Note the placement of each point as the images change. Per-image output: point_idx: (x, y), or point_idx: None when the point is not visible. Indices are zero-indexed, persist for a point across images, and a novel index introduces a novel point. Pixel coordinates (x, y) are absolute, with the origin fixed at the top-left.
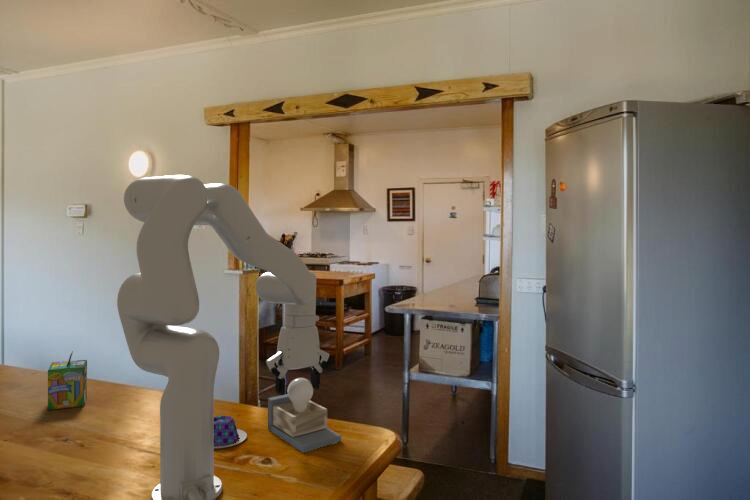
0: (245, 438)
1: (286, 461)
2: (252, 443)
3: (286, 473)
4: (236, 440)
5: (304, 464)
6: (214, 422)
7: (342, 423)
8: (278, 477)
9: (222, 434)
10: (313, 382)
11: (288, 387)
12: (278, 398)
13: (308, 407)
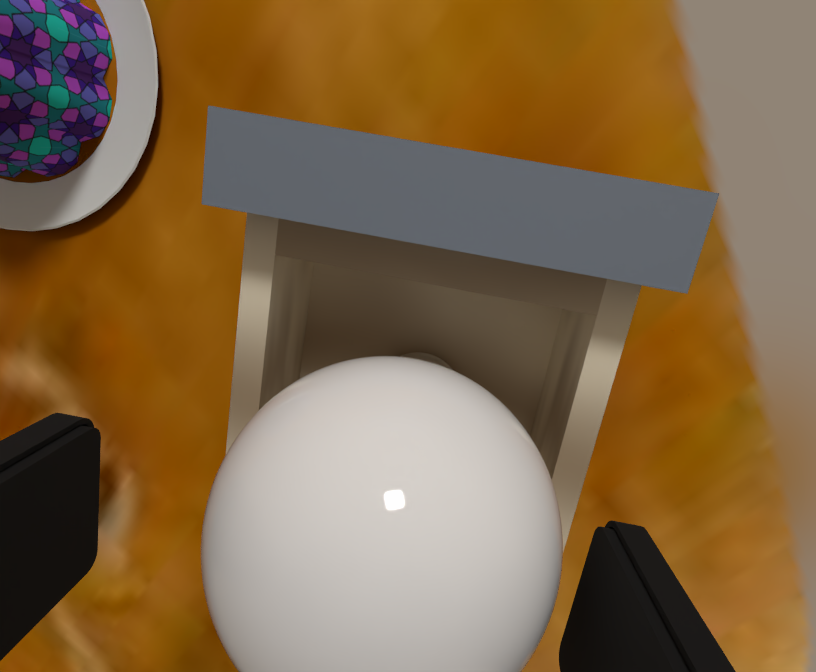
0: (113, 194)
1: (158, 560)
2: (132, 267)
3: (100, 633)
4: (71, 162)
5: (202, 635)
6: None
7: (739, 447)
8: (59, 632)
9: None
10: (600, 647)
11: (214, 485)
12: (292, 212)
13: (568, 355)
